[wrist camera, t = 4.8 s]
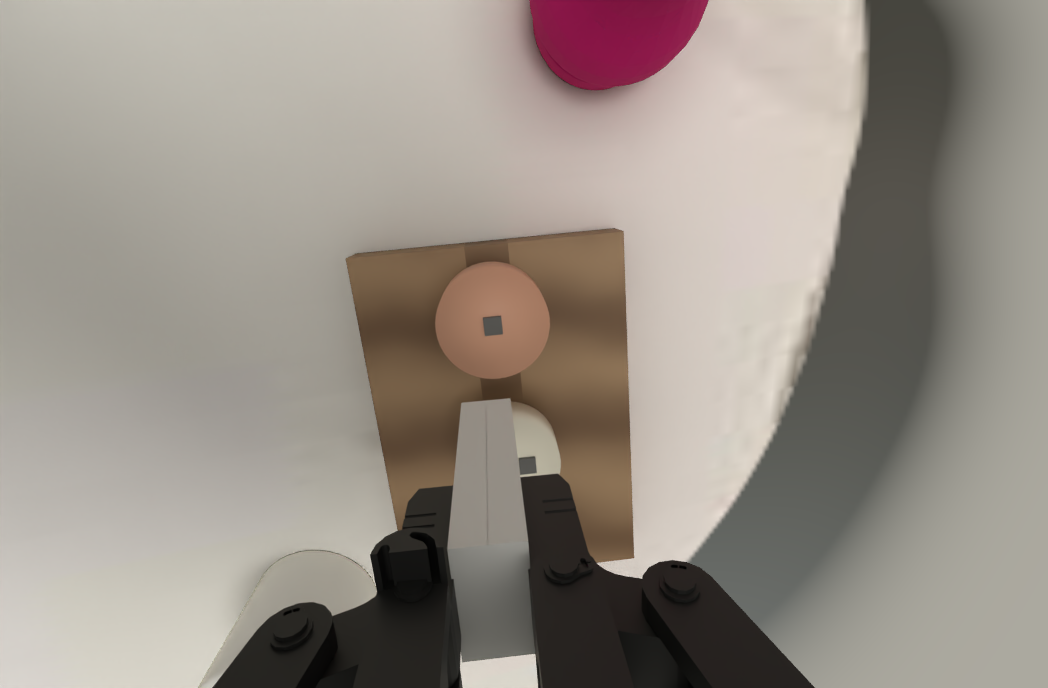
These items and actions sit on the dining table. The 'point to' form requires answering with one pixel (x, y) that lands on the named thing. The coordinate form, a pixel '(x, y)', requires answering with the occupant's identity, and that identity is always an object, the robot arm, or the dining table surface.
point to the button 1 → (492, 320)
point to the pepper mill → (612, 37)
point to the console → (547, 384)
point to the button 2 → (534, 442)
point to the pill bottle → (294, 597)
